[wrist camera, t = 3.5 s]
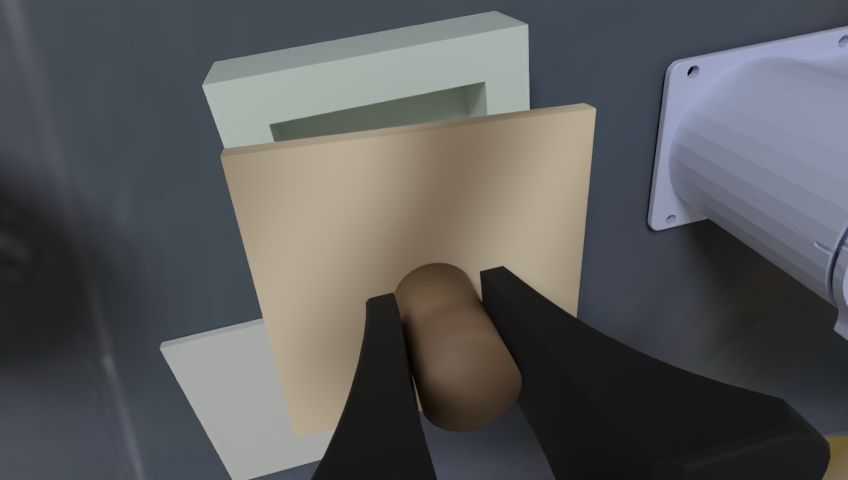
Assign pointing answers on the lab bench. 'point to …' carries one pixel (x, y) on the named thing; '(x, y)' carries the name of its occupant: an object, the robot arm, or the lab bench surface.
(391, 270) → the lid
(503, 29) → the dish
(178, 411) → the lab bench surface
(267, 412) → the mat
